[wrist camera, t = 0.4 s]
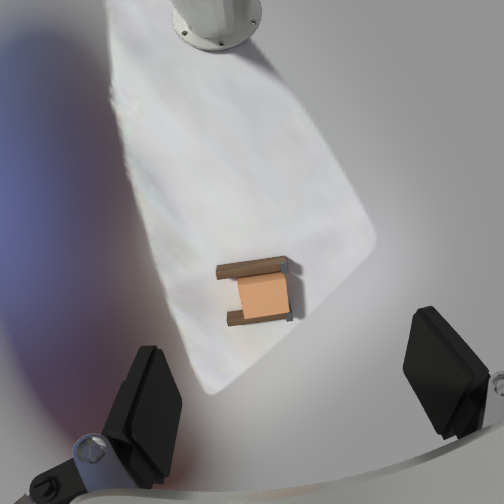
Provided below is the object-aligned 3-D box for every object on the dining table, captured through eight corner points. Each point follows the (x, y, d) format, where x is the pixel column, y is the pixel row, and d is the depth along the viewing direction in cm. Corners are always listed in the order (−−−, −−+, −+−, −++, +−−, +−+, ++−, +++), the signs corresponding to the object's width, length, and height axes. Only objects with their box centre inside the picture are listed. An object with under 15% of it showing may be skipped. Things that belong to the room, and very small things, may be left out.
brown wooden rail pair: (216, 264, 47) (215, 273, 44) (284, 254, 46) (287, 263, 43) (228, 318, 50) (228, 329, 48) (290, 310, 50) (292, 320, 47)
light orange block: (238, 273, 47) (237, 285, 44) (282, 266, 47) (285, 278, 44) (244, 305, 50) (244, 319, 46) (286, 298, 50) (289, 312, 46)
